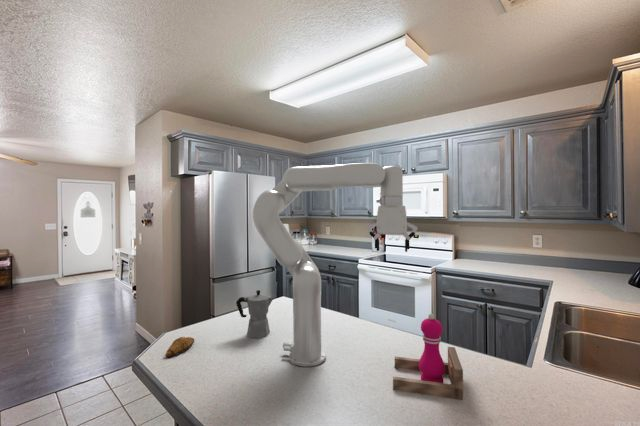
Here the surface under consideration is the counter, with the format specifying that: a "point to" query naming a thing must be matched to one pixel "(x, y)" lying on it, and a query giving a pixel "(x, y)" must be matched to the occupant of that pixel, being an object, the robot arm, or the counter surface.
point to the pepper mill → (431, 351)
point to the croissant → (179, 346)
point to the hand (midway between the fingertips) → (391, 250)
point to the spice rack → (432, 388)
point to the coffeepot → (256, 314)
